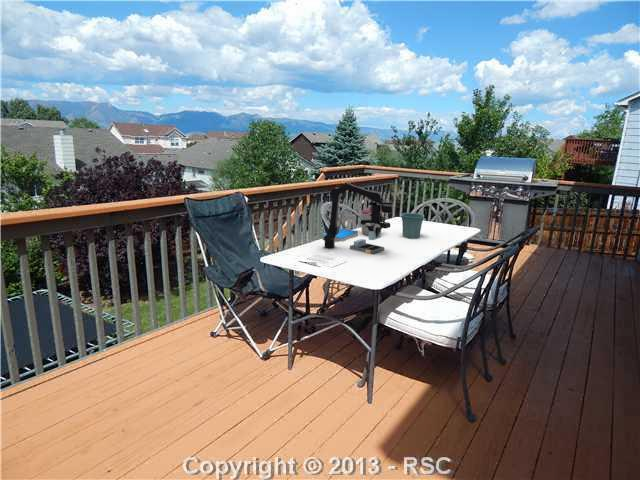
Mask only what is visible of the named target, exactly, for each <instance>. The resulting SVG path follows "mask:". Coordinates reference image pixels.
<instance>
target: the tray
mask: <svg viewBox="0 0 640 480" xmlns="http://www.w3.org/2000/svg"><path fill="white" fill-rule="evenodd" d="M302 256H303V259H305V258H306V259H305V260H309V261H313V262H308V263H309V265H313V266H317V267H320V268H321V267H329V268H334V267H336V266H338V265H341V264H343V263H346V261H345V260H341V257H337V256H333V255H328V254H323V253H317V254H315V253H308V252H307V253H304V254H302V255H299V256H298V257H302ZM308 263H307V264H308Z"/></svg>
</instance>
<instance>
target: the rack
mask: <svg viewBox="0 0 640 480" xmlns="http://www.w3.org/2000/svg"><path fill="white" fill-rule="evenodd" d="M349 250H352V251H357V252H362V253H365V254H369V255H376V254H378V253H381V252H383V251H385V247H384V246H382V245H381V246H380V245H377V244H371V243H367V242H366V245H363V246H360V247H355V246H354V244H351V245H350V246H349Z"/></svg>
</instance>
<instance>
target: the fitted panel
mask: <svg viewBox="0 0 640 480" xmlns="http://www.w3.org/2000/svg"><path fill="white" fill-rule="evenodd" d="M366 241H367V240H366V238H360V239H357V240H354V241H353V245H354V246H355V247H360V246H363V245H366V243H367V242H366Z"/></svg>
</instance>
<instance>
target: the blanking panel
mask: <svg viewBox="0 0 640 480" xmlns="http://www.w3.org/2000/svg"><path fill="white" fill-rule="evenodd" d="M381 237H382V230H381V231H380V233H379V235H378V237H377V238H376V230H373V231H369V235H368V240H370V241H375V240H378V239H381Z"/></svg>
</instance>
